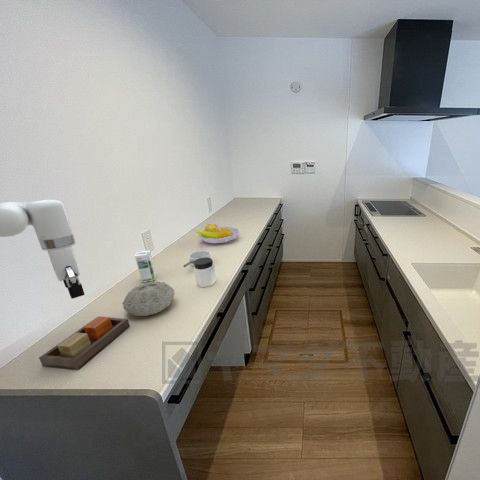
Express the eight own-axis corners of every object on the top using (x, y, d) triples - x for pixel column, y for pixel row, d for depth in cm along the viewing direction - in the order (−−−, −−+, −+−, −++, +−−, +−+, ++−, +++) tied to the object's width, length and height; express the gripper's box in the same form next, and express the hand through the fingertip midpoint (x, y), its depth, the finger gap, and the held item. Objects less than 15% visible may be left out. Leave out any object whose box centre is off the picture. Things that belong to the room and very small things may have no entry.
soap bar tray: (42, 366, 80) (35, 351, 78) (100, 324, 99) (95, 310, 97) (78, 370, 79) (72, 354, 77) (129, 326, 98) (126, 313, 96)
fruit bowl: (236, 232, 200) (235, 217, 196) (242, 244, 177) (240, 228, 173) (196, 236, 190) (194, 221, 186) (196, 250, 166) (194, 233, 162)
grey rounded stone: (115, 316, 103) (108, 294, 100) (153, 293, 119) (149, 273, 116) (150, 325, 98) (144, 302, 95) (185, 299, 114) (181, 279, 111)
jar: (219, 282, 129) (216, 260, 125) (204, 289, 123) (200, 266, 119) (208, 277, 134) (205, 255, 130) (193, 283, 128) (189, 261, 123)
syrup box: (141, 283, 127) (134, 256, 122) (143, 277, 132) (136, 251, 127) (155, 281, 130) (148, 254, 124) (156, 275, 135) (150, 249, 130)
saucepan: (175, 274, 136) (173, 265, 134) (197, 258, 154) (195, 250, 152) (196, 276, 135) (194, 266, 133) (215, 260, 153) (214, 251, 151)
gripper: (37, 238, 81) (55, 286, 87) (43, 252, 71) (63, 306, 77) (69, 232, 87) (84, 278, 93) (80, 245, 76) (96, 296, 82)
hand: (75, 291), depth 85 cm, fingers open, 9 cm apart
